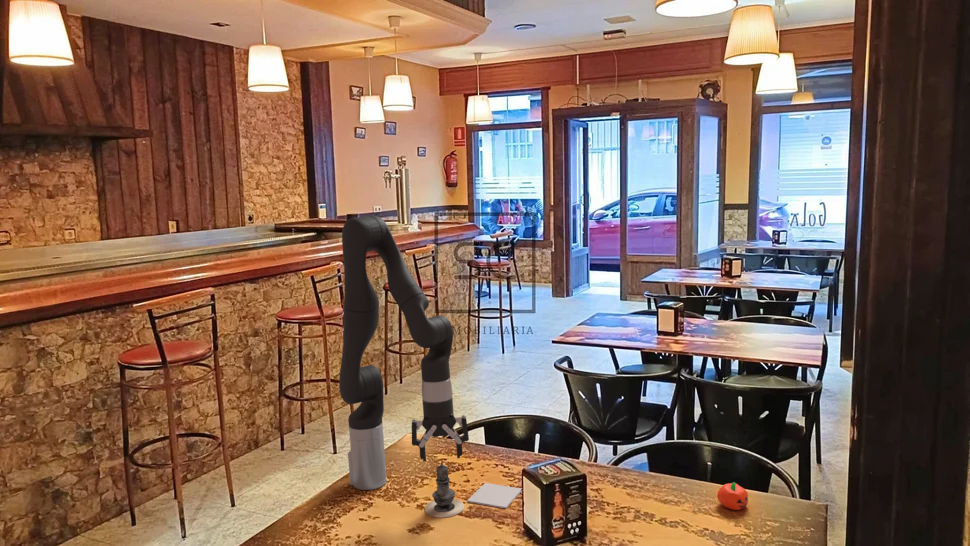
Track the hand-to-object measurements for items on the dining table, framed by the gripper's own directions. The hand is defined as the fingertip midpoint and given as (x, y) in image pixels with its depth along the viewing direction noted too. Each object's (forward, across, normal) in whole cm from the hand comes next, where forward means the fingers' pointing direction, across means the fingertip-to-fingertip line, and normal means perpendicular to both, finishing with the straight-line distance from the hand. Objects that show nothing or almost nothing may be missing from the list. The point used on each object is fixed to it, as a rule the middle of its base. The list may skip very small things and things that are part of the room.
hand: (441, 458), depth 170 cm
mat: (+13, +13, +5) cm, 19 cm away
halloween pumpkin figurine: (+14, +70, -11) cm, 73 cm away
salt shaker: (+13, 0, 0) cm, 13 cm away
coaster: (+13, 0, 0) cm, 13 cm away
